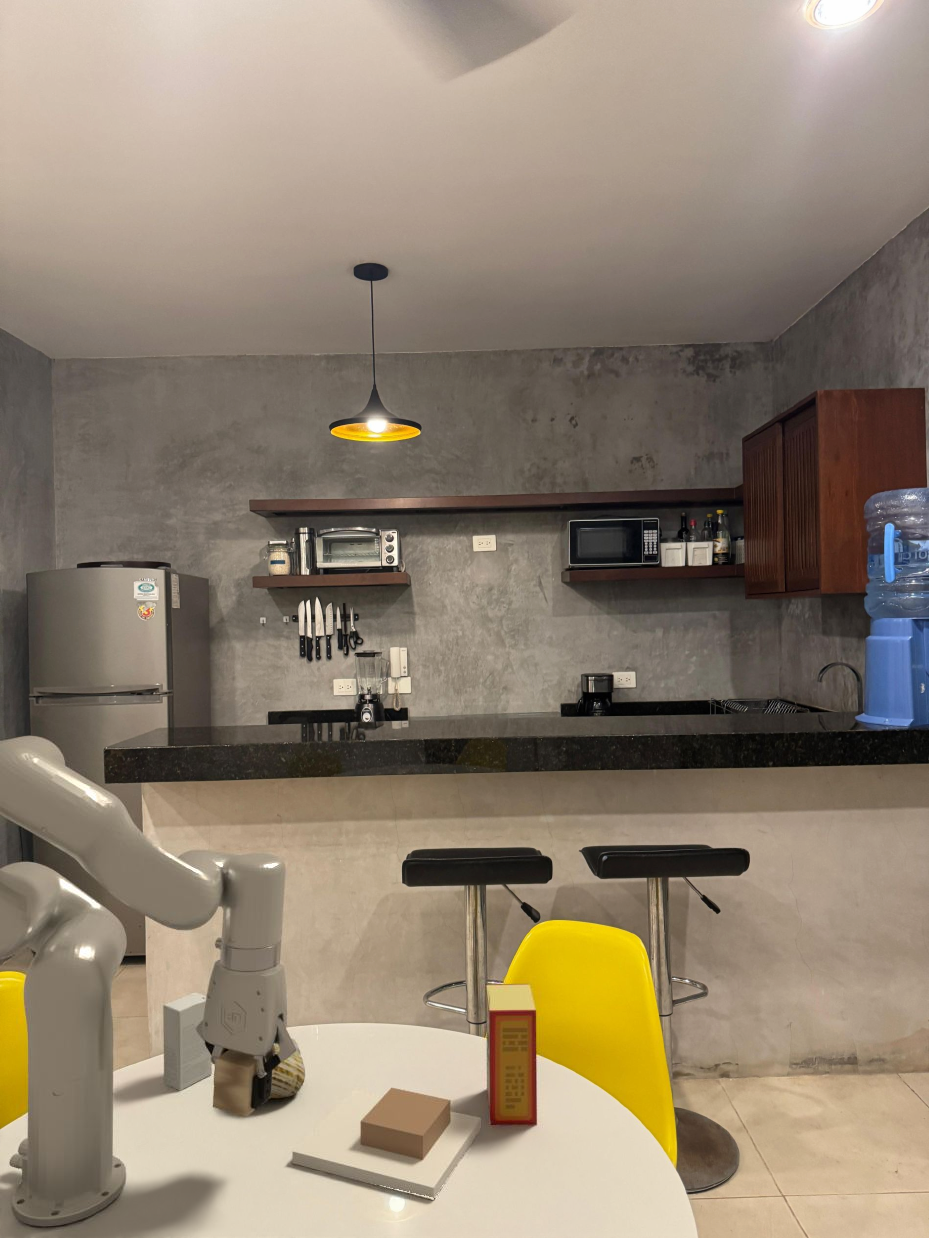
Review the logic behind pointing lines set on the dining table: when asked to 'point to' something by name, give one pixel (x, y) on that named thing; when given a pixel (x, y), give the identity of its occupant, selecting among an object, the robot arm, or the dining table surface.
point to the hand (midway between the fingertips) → (241, 1096)
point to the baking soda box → (511, 1054)
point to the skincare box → (185, 1042)
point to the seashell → (287, 1075)
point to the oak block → (234, 1082)
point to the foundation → (390, 1140)
